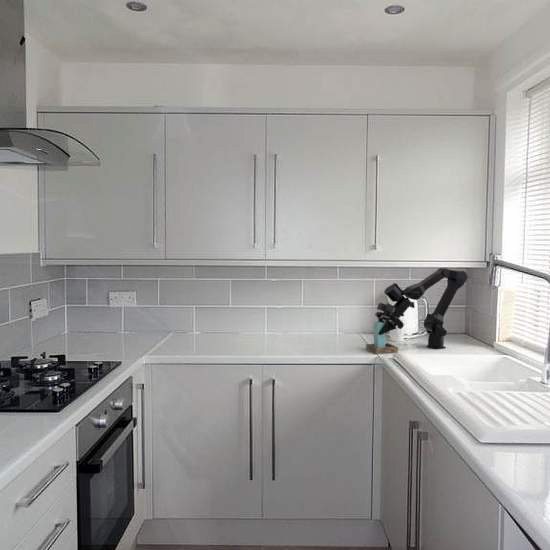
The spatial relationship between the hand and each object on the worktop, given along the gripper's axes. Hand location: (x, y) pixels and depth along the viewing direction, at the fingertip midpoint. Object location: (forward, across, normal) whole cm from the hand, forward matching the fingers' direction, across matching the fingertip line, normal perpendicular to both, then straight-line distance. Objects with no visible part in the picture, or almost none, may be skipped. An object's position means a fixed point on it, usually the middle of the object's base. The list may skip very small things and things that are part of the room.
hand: (376, 333), depth 236 cm
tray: (+4, 0, +8) cm, 9 cm away
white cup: (-9, -21, +21) cm, 31 cm away
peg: (+4, 0, +6) cm, 7 cm away
